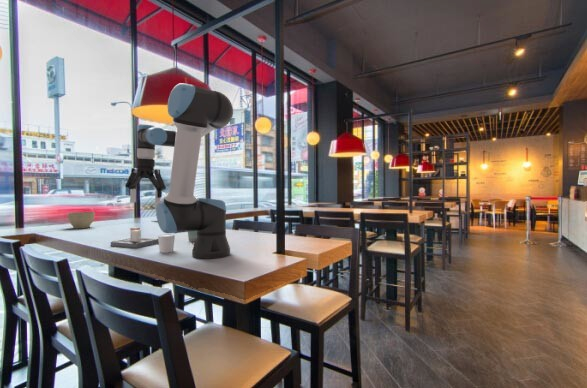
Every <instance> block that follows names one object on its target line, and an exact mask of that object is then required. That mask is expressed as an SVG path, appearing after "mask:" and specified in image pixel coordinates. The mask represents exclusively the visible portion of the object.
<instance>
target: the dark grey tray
mask: <svg viewBox="0 0 587 388" xmlns="http://www.w3.org/2000/svg"><path fill="white" fill-rule="evenodd" d="M157 244H158V245H159V241H158V238H148V237H147V238H145V237H141V241H137V242H136V241H131V237H128V238H122V239H117V240H112V241H110V247H116V248H117V247H118V248H130V249H131V248H132V249H139V248H144V247H149V246H152V245H157Z"/></svg>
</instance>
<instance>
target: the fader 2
mask: <svg viewBox="0 0 587 388" xmlns="http://www.w3.org/2000/svg"><path fill="white" fill-rule="evenodd" d="M130 238H131V241H136V242H137V241H141V238H142V230H141V229H140V230H132V231H131V230H130Z"/></svg>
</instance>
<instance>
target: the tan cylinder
mask: <svg viewBox="0 0 587 388" xmlns="http://www.w3.org/2000/svg"><path fill="white" fill-rule="evenodd" d="M129 229H130V232H131V231H132V230H141V228H140V227H130V228H129Z"/></svg>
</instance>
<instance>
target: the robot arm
mask: <svg viewBox="0 0 587 388" xmlns="http://www.w3.org/2000/svg"><path fill="white" fill-rule="evenodd" d="M167 112H168V113H167V114H168V115H169V117H171V118H172V123H173V124H174V125H175V127H176V130H174V129H166V128H162V127H159V126H155V125H151V124H146V123H141V124H138V125H137V130H136V134H137V135H136V136H137V138H136V140H137V141H136V167H137V168H136V167H132V168H131V170H130V175H129V176H128V179H127V181H126V182H125V183H126V184H125V188H128V193H129V196H130V197H129V198H130V199H129V201H130V202H129V203H130V204H133V203H134V204H135V203H137V198H136V197H137V189H136V187H137V185H138V184H139V183H140V182H141V180H142V179H148V180H149V181H150V182H151V183H152V185H153V187H154V188H155V189H156V190H155V192H154V205H156V207H155V208H156V212H155V214H156V220H157V221H156V222H157V224H158V227H159V229H160V230H161V231H162V232H163V233H165V234H174V235H175V234H179V233H181V234H182V233H188V232H190V231H197V237H196V240H195V242H194V244H193V248H192V252H191V253H192V254H191V255H192V257H193V258H195V259H206V260H207V259H221V258H224V257H228V256H230V255H231V247H230V244H229V241H228V238H227V234H226V233H227V231H226V230H227V223H226V222H227V220H226V218H227V216H226V215H227V214H226V213H227V207H226V202H225V201H224V200H222V199H214V198H204V197H197V198H196V197H195V196H194V193H195V185H196V177H197V173H198V172H197V171H198V165H199V155H200V150H201V149H200V148H201V141H202V138H203V137H205V136H207V135H208V134H210V133H211V132H213V131H214V130H220V129H222V128H224V127H226V126H227V125H228V124H229V123H230V122H231V120H233V119H232V118H233V115H234V108H233V104H232V102H231V101H230V98H228V96H227V95H225V94H223V93H222V92H220V91H216V90H212V89H208V88H204V87H202V86H197V85H194V84H189V83H184V82H183V83H181V82H180V83H178V84H176V85H175V86H174V87H173V88H172V90H171V91H170V93H169V97H168V100H167ZM156 146H162V147H172V148H173V155H172V163H171V171H170V172H171V173H170V181H169V190H168V193H166V194H165V195H164V196H162V195H163V194H162V193H163V191H164V190H166V188H167V187H166V185H165V181H164V179H163V177H162V174H161V169H157V168H155V166H156V165H155V163H156V161H155V158H156V157H155V156H156V154H155V153H156V152H155V151H156ZM162 197H163V201H161V198H162Z"/></svg>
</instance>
